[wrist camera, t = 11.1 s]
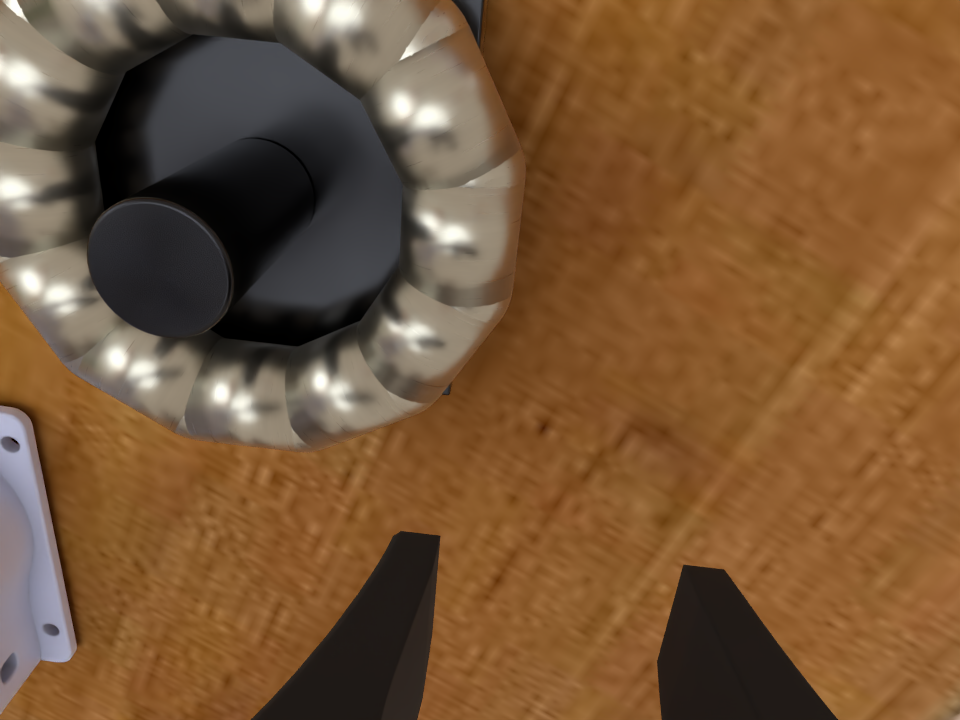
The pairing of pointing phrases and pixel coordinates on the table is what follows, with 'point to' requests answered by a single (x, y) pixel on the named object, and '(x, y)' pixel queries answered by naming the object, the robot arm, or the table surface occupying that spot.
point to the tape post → (244, 195)
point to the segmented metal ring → (246, 364)
